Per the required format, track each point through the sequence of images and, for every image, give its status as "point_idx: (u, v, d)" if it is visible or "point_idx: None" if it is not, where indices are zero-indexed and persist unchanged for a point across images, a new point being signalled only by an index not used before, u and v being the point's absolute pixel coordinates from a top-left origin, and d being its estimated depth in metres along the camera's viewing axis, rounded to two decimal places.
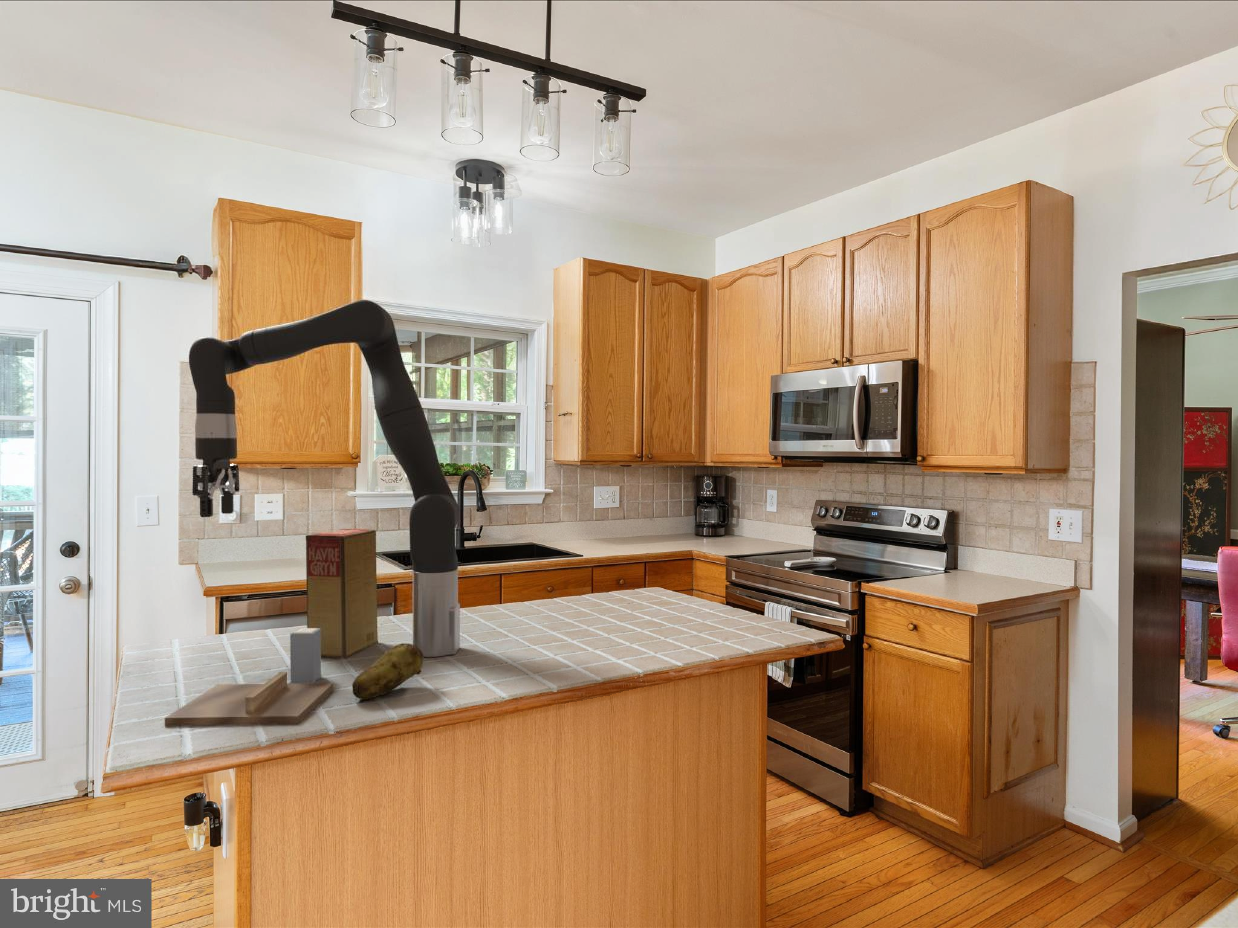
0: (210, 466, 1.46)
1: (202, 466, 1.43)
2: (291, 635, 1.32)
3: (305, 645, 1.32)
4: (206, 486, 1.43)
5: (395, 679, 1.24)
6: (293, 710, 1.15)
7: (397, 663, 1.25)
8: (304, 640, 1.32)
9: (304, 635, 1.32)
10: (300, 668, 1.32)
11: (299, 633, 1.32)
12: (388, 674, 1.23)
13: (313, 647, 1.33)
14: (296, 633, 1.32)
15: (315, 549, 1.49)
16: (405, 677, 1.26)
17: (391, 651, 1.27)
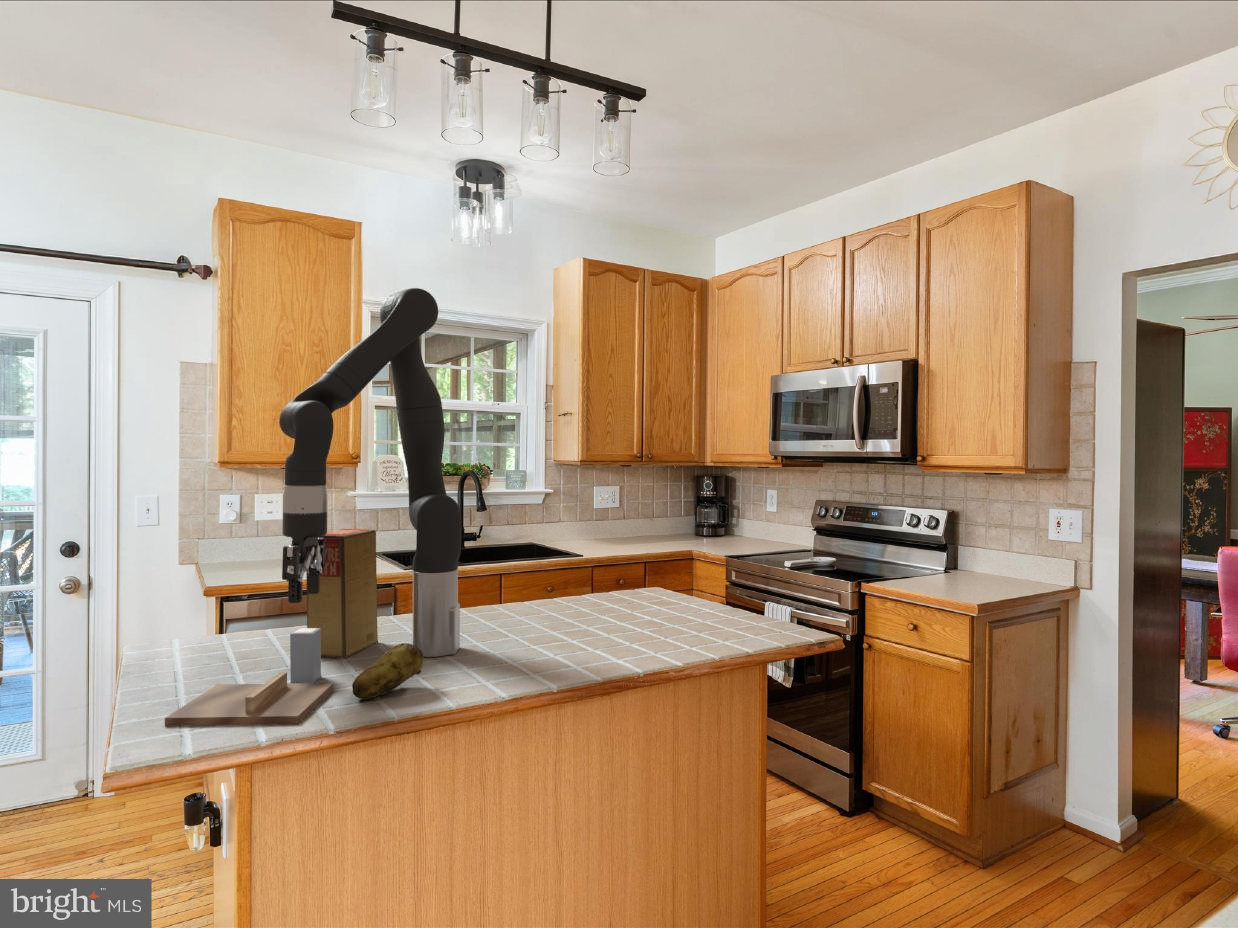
0: (300, 545, 1.30)
1: (293, 547, 1.27)
2: (291, 635, 1.32)
3: (305, 645, 1.32)
4: (297, 569, 1.27)
5: (395, 679, 1.24)
6: (293, 710, 1.15)
7: (397, 663, 1.25)
8: (304, 640, 1.32)
9: (304, 635, 1.32)
10: (300, 667, 1.32)
11: (299, 633, 1.32)
12: (388, 674, 1.23)
13: (313, 647, 1.33)
14: (296, 633, 1.32)
15: None
16: (405, 677, 1.26)
17: (391, 651, 1.27)
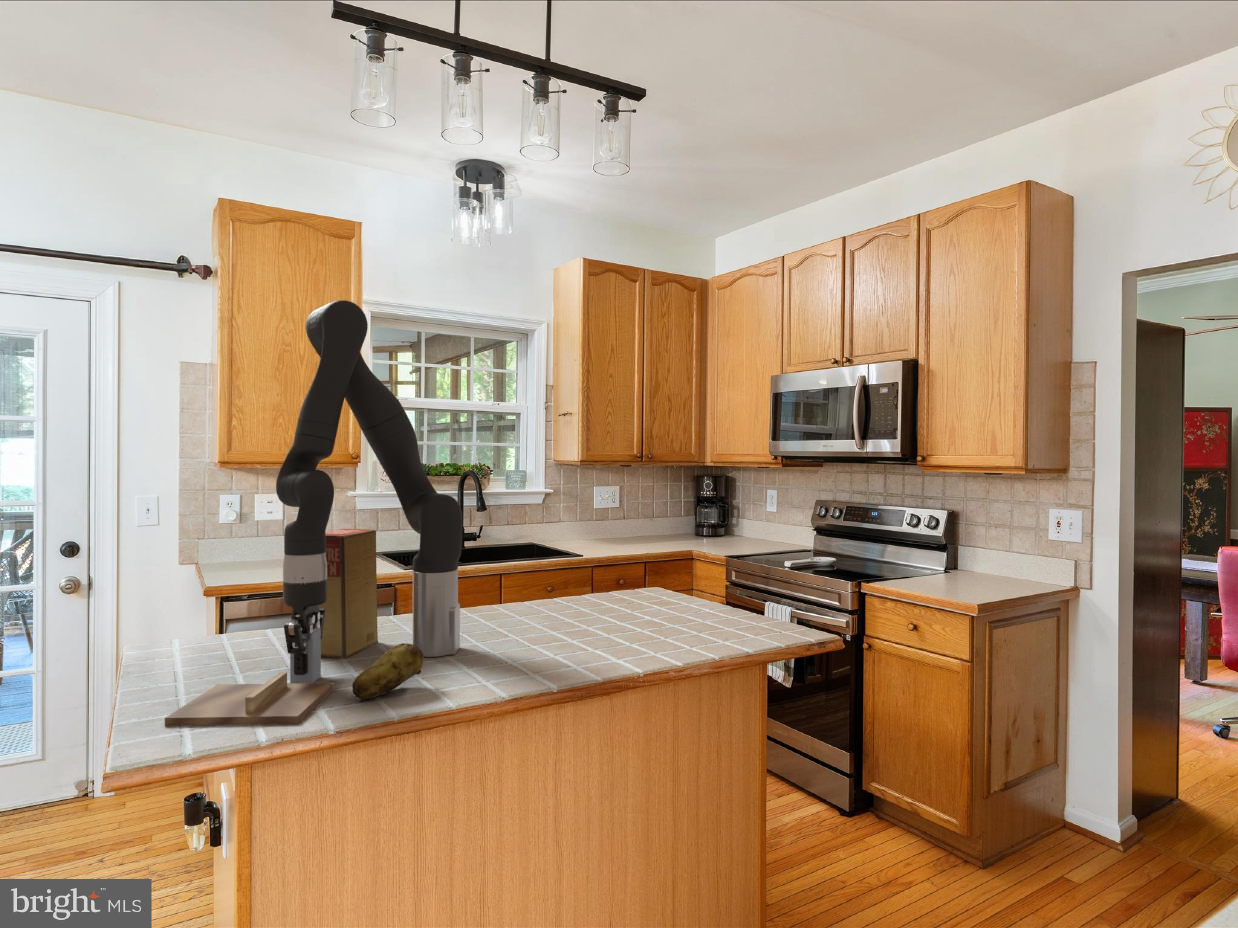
0: (301, 617, 1.30)
1: (294, 626, 1.27)
2: None
3: None
4: (301, 644, 1.29)
5: (395, 679, 1.24)
6: (293, 710, 1.15)
7: (397, 663, 1.25)
8: None
9: (304, 635, 1.32)
10: None
11: None
12: (388, 674, 1.23)
13: (313, 647, 1.33)
14: None
15: None
16: (405, 677, 1.26)
17: (391, 651, 1.27)
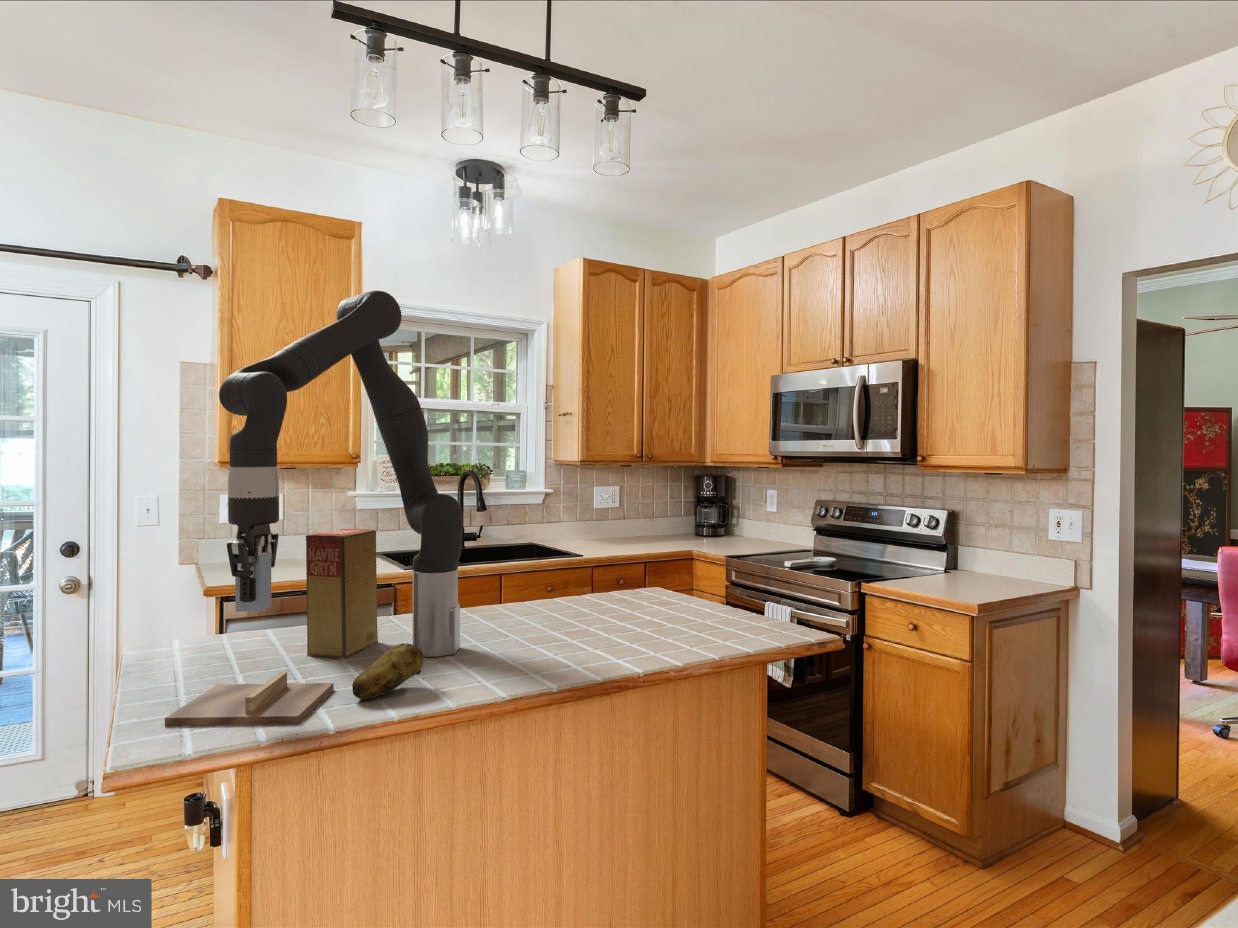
0: (247, 536, 1.15)
1: (238, 544, 1.13)
2: None
3: None
4: (247, 566, 1.15)
5: (395, 680, 1.24)
6: (293, 710, 1.15)
7: (397, 663, 1.25)
8: None
9: (251, 558, 1.18)
10: None
11: None
12: (388, 675, 1.23)
13: (261, 572, 1.18)
14: None
15: (315, 549, 1.49)
16: (405, 677, 1.26)
17: (391, 651, 1.27)
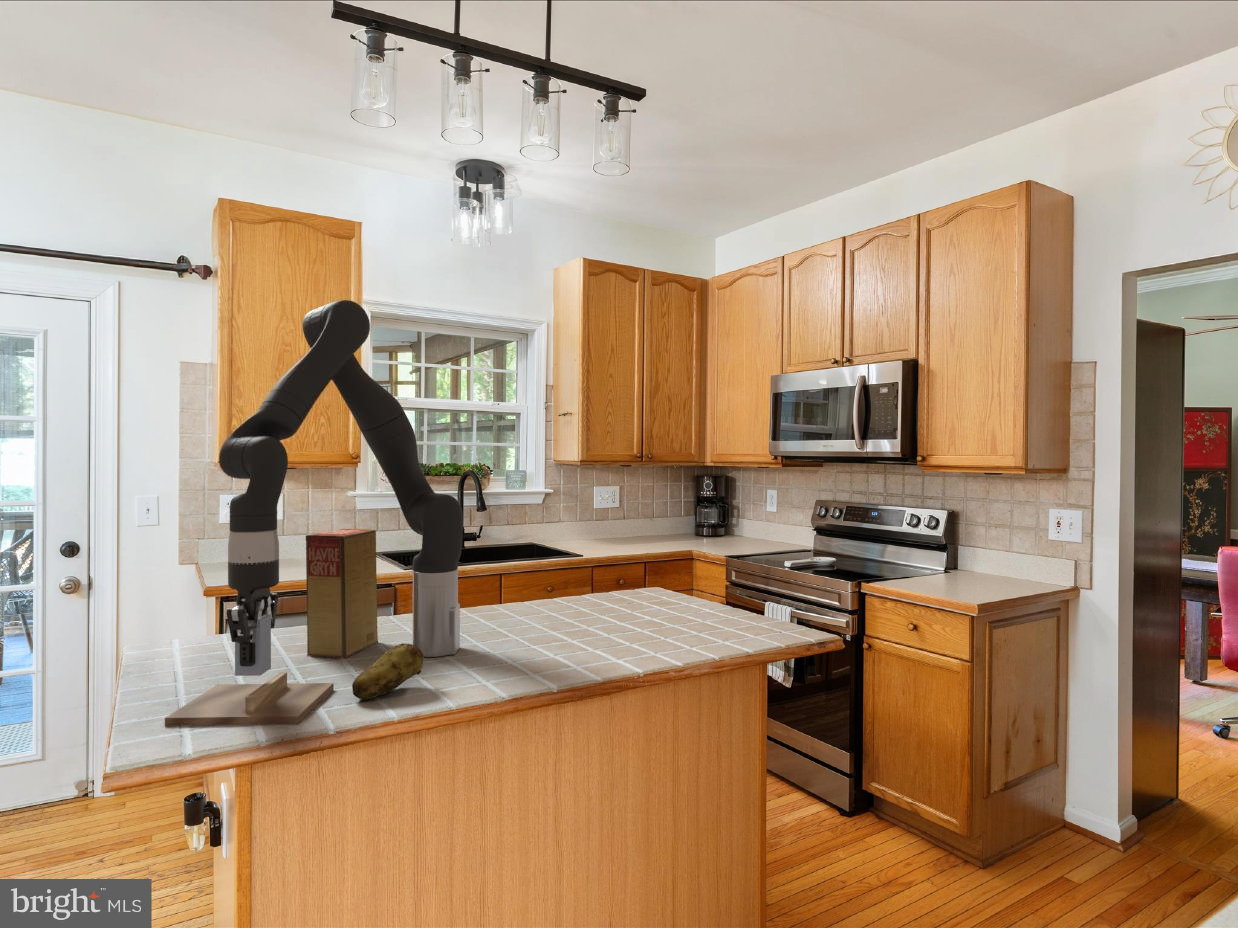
0: (247, 602, 1.16)
1: (238, 611, 1.13)
2: None
3: None
4: (247, 631, 1.15)
5: (395, 680, 1.24)
6: (293, 710, 1.15)
7: (397, 663, 1.25)
8: None
9: (251, 622, 1.18)
10: None
11: None
12: (388, 675, 1.23)
13: (261, 636, 1.18)
14: None
15: (315, 549, 1.49)
16: (405, 677, 1.26)
17: (391, 651, 1.27)
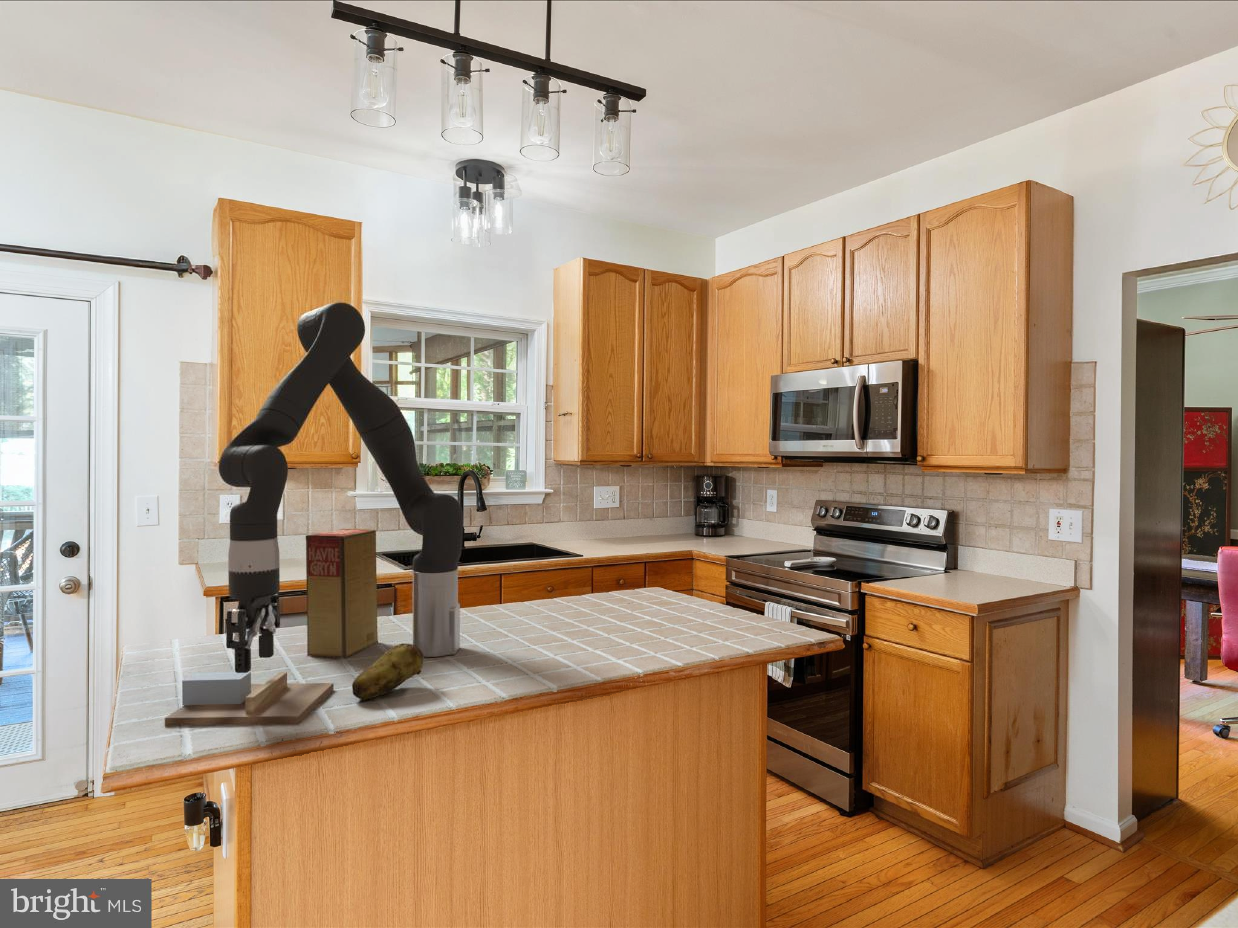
0: (248, 608, 1.16)
1: (238, 611, 1.13)
2: (184, 703, 1.17)
3: (195, 688, 1.17)
4: (243, 636, 1.13)
5: (395, 680, 1.24)
6: (293, 710, 1.15)
7: (397, 663, 1.25)
8: (190, 688, 1.17)
9: (184, 689, 1.17)
10: (222, 692, 1.18)
11: None
12: (387, 675, 1.23)
13: (201, 679, 1.18)
14: None
15: (315, 549, 1.49)
16: (405, 677, 1.26)
17: (391, 651, 1.27)
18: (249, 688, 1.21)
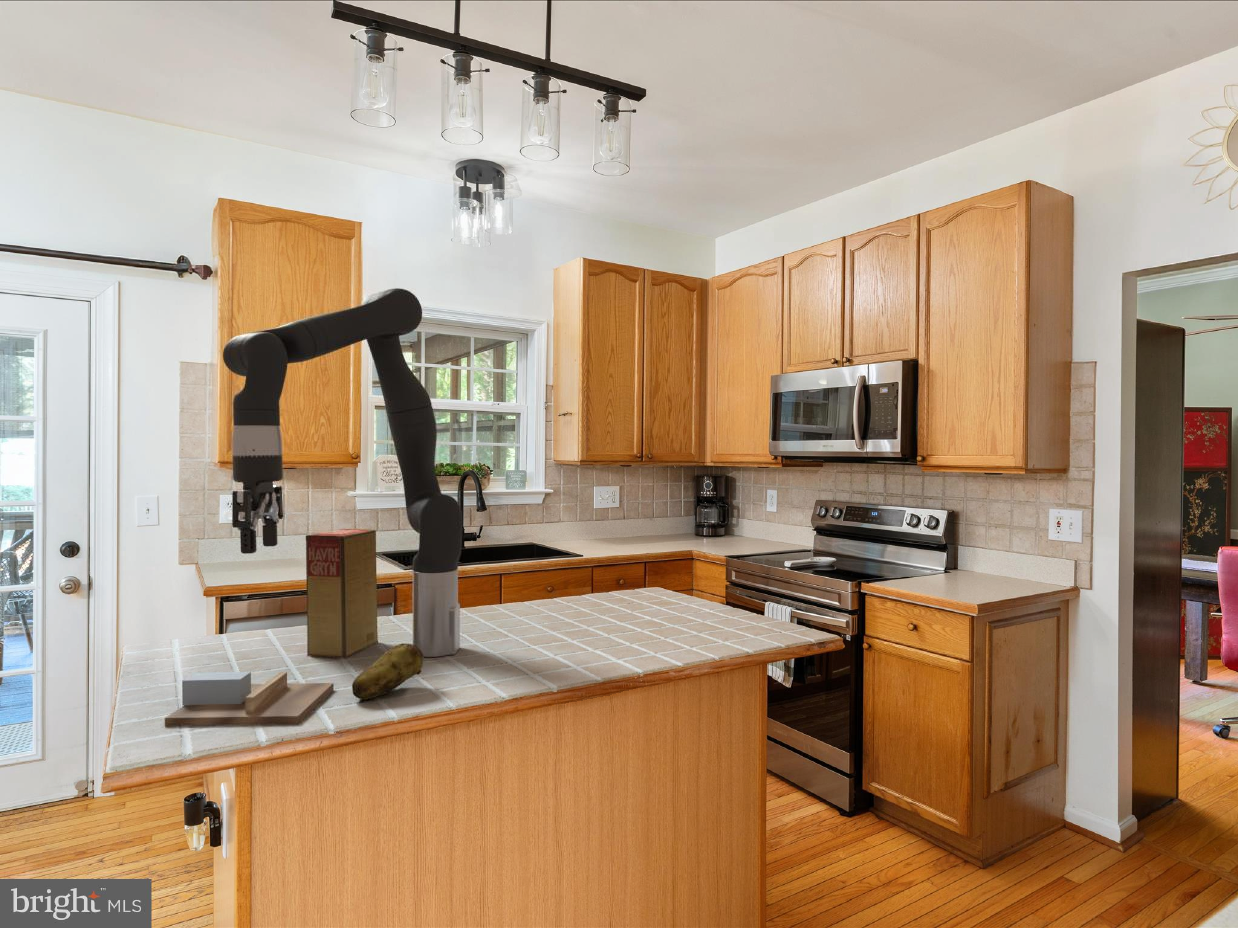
0: (252, 490, 1.18)
1: (244, 491, 1.16)
2: (184, 703, 1.17)
3: (195, 688, 1.17)
4: (249, 516, 1.16)
5: (395, 680, 1.24)
6: (293, 710, 1.15)
7: (397, 663, 1.25)
8: (190, 688, 1.17)
9: (184, 689, 1.17)
10: (222, 692, 1.18)
11: None
12: (387, 675, 1.23)
13: (201, 679, 1.18)
14: None
15: (315, 549, 1.49)
16: (405, 677, 1.26)
17: (391, 651, 1.27)
18: (249, 688, 1.21)
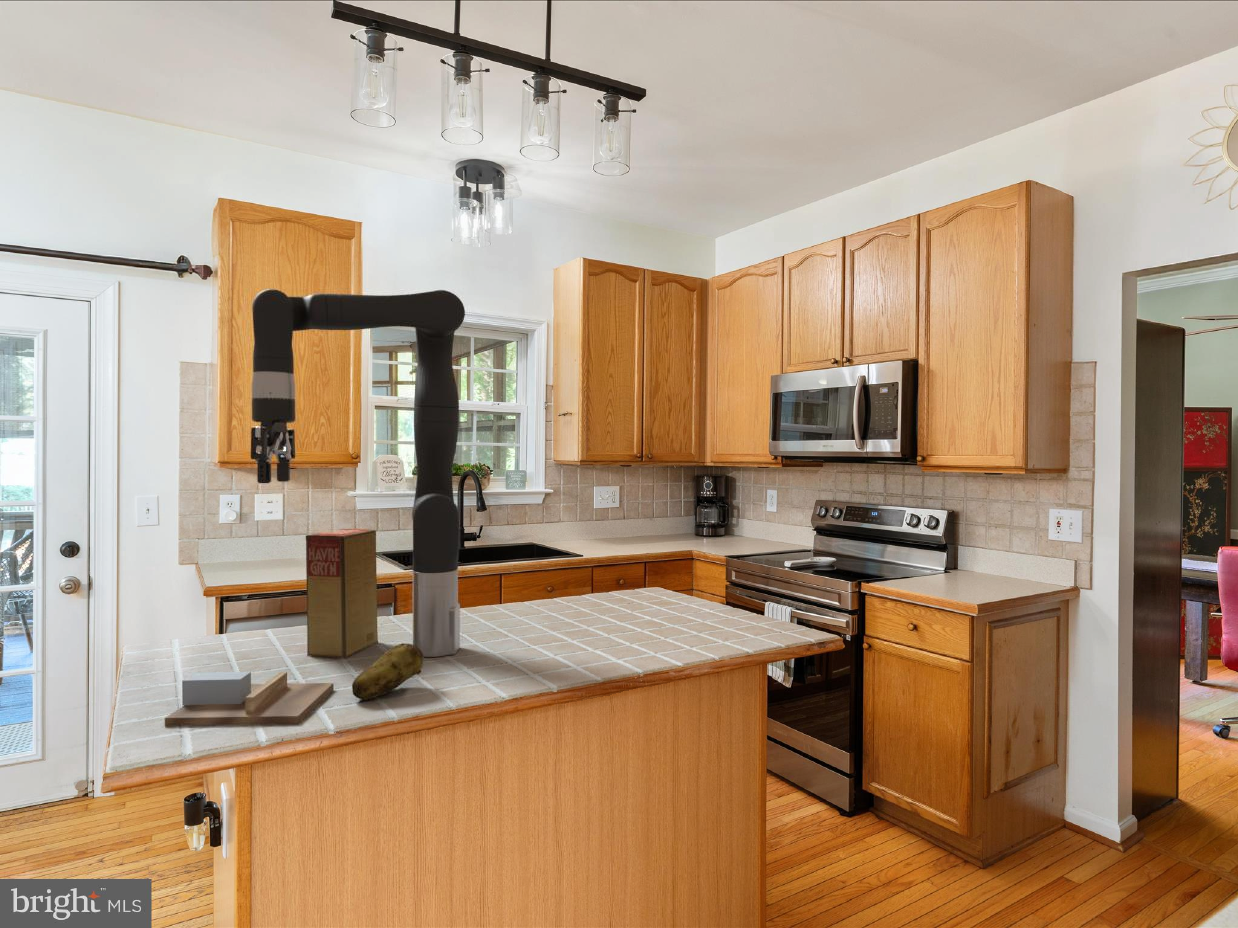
0: (268, 428, 1.35)
1: (261, 428, 1.32)
2: (184, 703, 1.17)
3: (195, 688, 1.17)
4: (265, 449, 1.33)
5: (395, 680, 1.24)
6: (293, 710, 1.15)
7: (397, 663, 1.24)
8: (190, 688, 1.17)
9: (184, 689, 1.17)
10: (222, 692, 1.18)
11: None
12: (387, 675, 1.23)
13: (201, 679, 1.18)
14: None
15: (315, 549, 1.49)
16: (405, 677, 1.26)
17: (391, 651, 1.27)
18: (249, 688, 1.21)
